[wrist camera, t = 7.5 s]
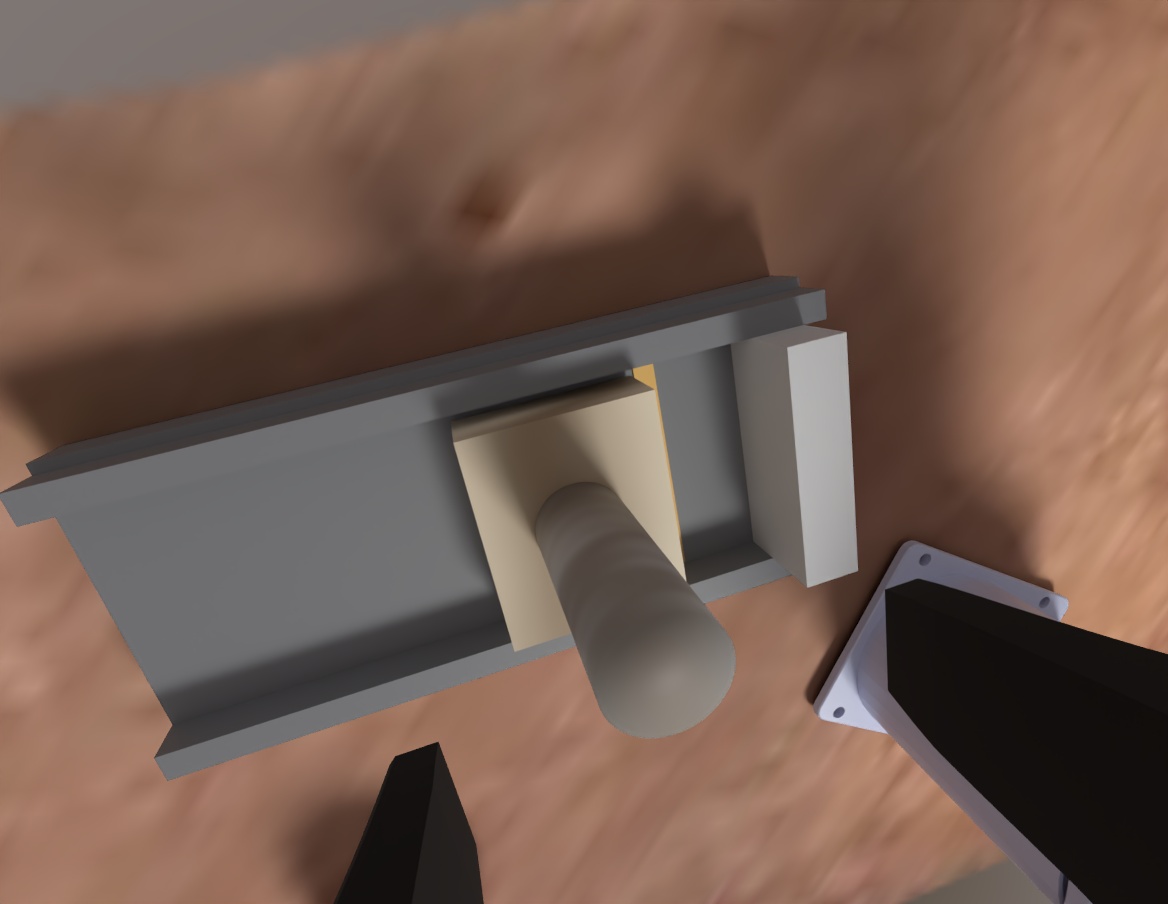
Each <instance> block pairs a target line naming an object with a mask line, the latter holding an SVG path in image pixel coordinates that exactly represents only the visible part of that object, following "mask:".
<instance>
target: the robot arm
mask: <svg viewBox="0 0 1168 904" xmlns="http://www.w3.org/2000/svg"><path fill="white" fill-rule="evenodd" d="M922 555H923V556H922ZM921 557H922V558H921ZM920 558H921V559H920ZM1068 605H1069V602H1068V599H1067V598H1065V597H1064V596H1062V595H1060V594H1058V593H1055V592H1052V591H1050V590H1047V589H1044V588H1042V587H1039V586H1036V585H1034V584H1031V583H1028V582H1025V581H1023V580H1020V579H1017V578H1015V577H1012V576H1009V575H1006V574H1004V573H1001V572H998V571H996V570H993V569H990V568H988V567H985V566H982V565H979V564H977V563H974V562H971V561H969V560H966V559H963V558H960V557H958V556H955V555H952V554H950V553H947V552H944V551H942V550H939V549H936V548H933V547H931V546H928V545H925V544H923V543H920V542H917V541H912V540H911V541H908V542H906V543H904V544H903V545H902V546H901V547H900V549H899V550H898V552H897V554H896V556H895V558H894V559H893V561H892V563H891V565H890V567H889V568H888V570H887V572H886V574H885V576H884V577H883V579H882V581H881V583H880V585H879V587H878V588H877V590H876V592H875V594H874V596H873V597H872V599H871V601H870V603H869V605H868V606H867V608H866V610H865V612H864V614H863V615H862V617H861V619H860V621H859V623H858V624H857V626H856V628H855V630H854V632H853V634H852V635H851V637H850V639H849V641H848V643H847V644H846V646H845V648H844V650H843V652H842V653H841V655H840V657H839V659H838V661H837V662H836V664H835V666H834V668H833V670H832V671H831V673H830V675H829V677H828V679H827V680H826V682H825V684H824V686H823V688H822V690H821V691H820V693H819V695H818V697H817V699H816V700H815V703H814V705H813V710H814V712H815V713H816V714H817V716H818V717H819V718H820V719H822V720H826V721H831V722H835V723H840V724H845V725H849V726H854V727H858V728H863V729H868V730H872V731H877V732H881V733H886V734H889V735H890V736H891V737H892V738H893V739H894V740H895V741H896V742H897V743H898V744H899V745H900V746H901V747H902V748H903V749H904V750H905V751H906V752H907V753H908V754H909V755H910V756H911V757H912V759H913V760H914V761H915V762H916V763H917V764H918V765H919V766H920V767H921V768H922V769H923V770H924V771H925V772H926V773H927V774H928V775H929V776H930V777H931V778H932V779H933V780H934V781H935V782H936V783H937V784H938V785H939V786H940V787H941V788H942V789H943V791H944V792H945V793H946V794H947V795H948V796H949V797H950V798H951V799H952V800H953V801H954V802H955V803H956V804H957V805H958V806H959V807H960V808H961V809H962V810H963V811H964V812H965V813H966V814H967V815H968V816H969V817H970V818H971V819H972V820H973V821H974V822H975V824H976V825H977V826H978V827H979V828H980V829H981V830H982V831H983V832H984V833H985V834H986V835H987V836H988V837H989V838H990V839H991V840H992V841H993V842H994V843H995V844H996V845H997V846H998V847H999V848H1000V849H1001V850H1002V851H1003V852H1004V853H1005V854H1006V856H1007V857H1008V858H1009V859H1010V860H1011V861H1012V862H1013V863H1014V864H1015V865H1016V866H1017V867H1018V868H1019V869H1020V870H1021V871H1022V872H1023V873H1024V874H1025V875H1026V876H1027V877H1028V878H1029V879H1030V880H1031V881H1032V882H1033V883H1034V884H1035V885H1036V886H1037V887H1038V888H1039V890H1040V891H1041V892H1042V893H1043V894H1044V895H1045V896H1046V897H1047V898H1048V899H1049V900H1050V901H1051V902H1052V903H1053V904H1168V654H1165V653H1162V652H1158V651H1154V650H1151V649H1147V648H1144V647H1140V646H1137V645H1133V644H1130V643H1127V642H1123V641H1120V640H1117V639H1113V638H1110V637H1106V636H1103V635H1100V634H1097V633H1093V632H1090V631H1087V630H1084V629H1080V628H1077V627H1074V626H1071V625H1068V624H1065V623H1061V622H1060V620H1061V619H1062V617H1063V615H1064V614H1065V612H1066V611H1067V608H1068ZM334 904H484V903H483V895H482V886H481V879H480V871H479V864H478V856H477V848H476V843H475V840H474V837H473V834H472V832H471V829H470V826H469V824H468V821H467V818H466V815H465V813H464V810H463V807H462V805H461V802H460V799H459V796H458V794H457V791H456V788H455V786H454V783H453V780H452V777H451V775H450V772H449V769H448V767H447V764H446V761H445V758H444V756H443V753H442V750H441V748H440V745H439V742H436V743H433V744H430V745H427V746H424V747H421V748H418V749H416V750H413V751H410V752H407V753H404V754H401V755H398V756H395V758H394V759H393V761H392V762H391V764H390V765H389V768H388V771H387V774H386V776H385V779H384V782H383V784H382V787H381V790H380V792H379V795H378V798H377V800H376V803H375V805H374V808H373V811H372V813H371V816H370V818H369V821H368V823H367V826H366V828H365V831H364V833H363V836H362V838H361V841H360V843H359V846H358V848H357V850H356V853H355V855H354V858H353V860H352V863H351V865H350V867H349V869H348V872H347V874H346V876H345V879H344V881H343V883H342V886H341V888H340V890H339V892H338V895H337V897H336V899H335V902H334Z"/></svg>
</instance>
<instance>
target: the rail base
mask: <svg viewBox="0 0 1168 904" xmlns="http://www.w3.org/2000/svg"><path fill="white" fill-rule="evenodd" d="M825 319H827V315H826V298H825V289H814V288H799V277H790V276H768V277H764V278H760V279H755V280H751V281H747V282H743V283H739V284H735V285H730V286H726V287H722V288H718V289H714V290H710V291H705V292H701V293H697V294H693V295H689V296H685V297H680V298H676V299H672V300H668V301H664V302H660V303H655V304H651V305H647V306H643V307H639V308H635V309H630V310H626V311H622V312H618V313H614V314H610V315H605V316H601V317H597V318H593V319H589V320H585V321H580V322H576V323H572V324H568V325H564V326H559V327H555V328H551V329H547V330H543V331H539V332H534V333H530V334H526V335H522V336H518V337H514V338H509V339H505V340H501V341H497V342H493V343H489V344H484V345H480V346H476V347H472V348H468V349H464V350H459V351H455V352H451V353H447V354H443V355H439V356H434V357H430V358H426V359H422V360H418V361H414V362H409V363H405V364H401V365H397V366H393V367H389V368H384V369H380V370H376V371H372V372H368V373H364V374H359V375H355V376H351V377H347V378H343V379H339V380H334V381H330V382H326V383H322V384H318V385H314V386H309V387H305V388H301V389H297V390H293V391H289V392H284V393H280V394H276V395H272V396H268V397H264V398H259V399H255V400H251V401H247V402H243V403H239V404H234V405H230V406H226V407H222V408H218V409H214V410H209V411H205V412H201V413H197V414H193V415H189V416H184V417H180V418H176V419H172V420H168V421H164V422H159V423H155V424H151V425H147V426H143V427H138V428H134V429H130V430H126V431H122V432H118V433H113V434H109V435H105V436H101V437H97V438H93V439H88V440H84V441H80V442H76V443H72V444H68V445H63V446H61V447H59V448H57V449H55V450H53V451H51V452H49V453H47V454H45V455H43V456H41V457H39V458H37V459H35V460H33V461H31V462H29V463H27V464H26V466H27V468H28V469H29V471H30V473H31V475H32V476H31V477H29V478H27V479H25V480H23V481H21V482H20V483H18V484H16V485H14V486H12V487H10V488H8V489H6V490H5V491H3V492H1V493H0V499H1V501H2V503H3V504H4V506H5V508H6V509H7V511H8V513H9V514H10V516H11V518H12V519H13V521H14V523H15V525H16V526H17V527H19V526H22V525H26V524H30V523H34V522H38V521H42V520H46V519H50V518H54V517H56V519H57V521H58V523H59V524H60V526H61V528H62V530H63V531H64V533H65V535H66V537H67V538H68V540H69V542H70V544H71V546H72V547H73V549H74V551H75V553H76V554H77V556H78V558H79V560H80V561H81V563H82V565H83V567H84V569H85V570H86V572H87V574H88V576H89V577H90V579H91V581H92V583H93V585H94V586H95V588H96V590H97V592H98V593H99V595H100V597H101V599H102V600H103V602H104V604H105V606H106V608H107V609H108V611H109V613H110V615H111V616H112V618H113V620H114V622H115V623H116V625H117V627H118V629H119V631H120V632H121V634H122V636H123V638H124V639H125V641H126V643H127V645H128V647H129V648H130V650H131V652H132V654H133V655H134V657H135V659H136V661H137V662H138V664H139V666H140V668H141V670H142V671H143V673H144V675H145V677H146V678H147V680H148V682H149V684H150V685H151V687H152V689H153V691H154V693H155V694H156V696H157V698H158V700H159V701H160V703H161V705H162V707H163V708H164V710H165V712H166V714H167V716H168V717H169V719H170V721H171V723H172V724H173V725H172V727H171V729H170V731H169V732H168V734H167V736H166V738H165V739H164V741H163V743H162V745H161V747H160V748H159V750H158V752H157V754H156V756H155V757H154V759H155V761H156V762H157V764H158V766H159V767H160V769H161V771H162V772H163V774H164V776H165V777H166V779H167V781H169V780H172V779H175V778H178V777H181V776H184V775H187V774H190V773H193V772H196V771H199V770H202V769H205V768H208V767H211V766H214V765H217V764H220V763H223V762H226V761H229V760H232V759H235V758H238V757H241V756H244V755H247V754H250V753H253V752H256V751H259V750H263V749H266V748H269V747H272V746H275V745H278V744H281V743H284V742H287V741H290V740H293V739H296V738H299V737H302V736H305V735H308V734H311V733H314V732H317V731H320V730H323V729H326V728H329V727H332V726H335V725H338V724H341V723H344V722H347V721H350V720H354V719H357V718H360V717H363V716H366V715H369V714H372V713H375V712H378V711H381V710H384V709H387V708H390V707H393V706H396V705H399V704H402V703H405V702H408V701H411V700H414V699H417V698H420V697H423V696H426V695H429V694H432V693H435V692H438V691H441V690H444V689H448V688H451V687H454V686H457V685H460V684H463V683H466V682H469V681H472V680H475V679H478V678H481V677H484V676H487V675H490V674H493V673H496V672H499V671H502V670H505V669H508V668H511V667H514V666H517V665H520V664H523V663H526V662H529V661H532V660H535V659H539V658H542V657H545V656H548V655H551V654H554V653H557V652H560V651H563V650H566V649H569V648H572V647H575V646H576V643H575V641H574V638H573V636H572V633H571V634H568V635H565V636H562V637H559V638H556V639H553V640H550V641H547V642H544V643H540V644H537V645H534V646H531V647H528V648H525V649H522V650H519V651H516V652H515V651H514V648H513V645H512V641H511V638H510V634H509V631H508V628H507V624H506V621H505V617H504V614H503V611H502V607H501V604H500V600H499V597H498V594H497V590H496V587H495V583H494V580H493V577H492V573H491V570H490V566H489V563H488V560H487V556H486V553H485V549H484V546H483V542H482V539H481V536H480V532H479V529H478V525H477V522H476V519H475V515H474V512H473V508H472V505H471V502H470V498H469V495H468V491H467V488H466V485H465V481H464V478H463V474H462V471H461V468H460V464H459V461H458V457H457V454H456V451H455V447H454V444H453V437H452V428H451V421H455V420H459V419H463V418H467V417H471V416H474V415H478V414H482V413H486V412H490V411H494V410H498V409H502V408H505V407H509V406H513V405H517V404H521V403H525V402H529V401H533V400H536V399H540V398H544V397H548V396H552V395H556V394H560V393H563V392H567V391H571V390H575V389H579V388H583V387H587V386H591V385H594V384H598V383H602V382H606V381H610V380H614V379H618V378H622V377H625V376H629V375H630V376H632V377H634V378H635V379H637V380H639V381H641V382H642V383H644V384H646V385H648V386H649V387H651V388H653V389H655V393H656V399H657V405H658V411H659V417H660V423H661V430H662V436H663V442H664V448H665V454H666V460H667V466H668V472H669V478H670V484H671V490H672V496H673V503H674V509H675V515H676V521H677V527H678V533H679V539H680V545H681V551H682V557H683V563H684V569H685V575H686V582H687V583H688V584H689V586H690V587H691V588H692V589H693V591H694V592H695V593H696V594H697V596H698V597H699V598H700V599H701V601H702V602H703V603H704V604H705V603H708V602H711V601H714V600H717V599H720V598H724V597H727V596H730V595H733V594H736V593H739V592H742V591H745V590H748V589H751V588H754V587H757V586H760V585H763V584H766V583H769V582H772V581H775V580H778V579H781V578H784V577H787V576H790V575H793V576H794V577H795V578H796V579H798V580H799V581H800V582H801V583H802V584H803V585H804V586H806V587H807V588H809V587H812V586H815V585H818V584H821V583H824V582H826V581H829V580H832V579H835V578H838V577H841V576H844V575H847V574H850V573H853V572H856V571H858V559H857V538H856V517H855V497H854V476H853V456H852V435H851V415H850V394H849V373H848V353H847V332H843V331H837V330H831V329H825V328H819V327H813V326H807V325H805V324H809V323H813V322H817V321H821V320H825Z"/></svg>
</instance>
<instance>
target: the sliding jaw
mask: <svg viewBox="0 0 1168 904" xmlns="http://www.w3.org/2000/svg"><path fill="white" fill-rule="evenodd" d="M451 428H452V437H453V444H454V447H455V451H456V454H457V457H458V461H459V464H460V468H461V471H462V474H463V478H464V481H465V485H466V488H467V491H468V495H469V498H470V502H471V505H472V508H473V512H474V515H475V519H476V522H477V525H478V529H479V532H480V536H481V539H482V542H483V546H484V549H485V553H486V556H487V560H488V563H489V566H490V570H491V573H492V577H493V580H494V583H495V587H496V590H497V594H498V597H499V600H500V604H501V607H502V611H503V614H504V617H505V621H506V624H507V628H508V631H509V634H510V638H511V641H512V645H513V648H514V651H515V652H516V651H519V650H522V649H525V648H528V647H531V646H534V645H537V644H540V643H544V642H547V641H550V640H553V639H556V638H559V637H562V636H565V635H568V634H571V633H572V636H573V638H574V641H575V643H576V646H577V649H578V651H579V654H580V657H581V659H582V662H583V665H584V667H585V670H586V673H587V675H588V678H589V681H590V683H591V686H592V689H593V691H594V694H595V697H596V699H597V702H598V704H599V707H600V709H601V711H602V713H603V715H604V717H605V718H606V719H607V720H608V722H609V723H610V724H612V725H613V726H614V727H615V728H617V729H618V730H620V731H621V732H623V733H626V734H628V735H631V736H635V737H640V738H662V737H667V736H671V735H674V734H678V733H680V732H683V731H685V730H687V729H689V728H691V727H693V726H695V725H696V724H698V723H699V722H701V721H702V720H703V719H705V718H706V717H707V716H708V715H709V714H711V713H712V712H713V710H714V709H715V708H716V707H717V706H718V705H719V704H720V702H721V701H722V700H723V698H724V697H725V695H726V694H727V692H728V690H729V688H730V686H731V683H732V680H733V677H734V673H735V666H736V656H735V650H734V646H733V643H732V640H731V638H730V637H729V635H728V633H727V632H726V631H725V629H724V628H723V627H722V626H721V624H720V623H719V622H718V621H717V619H716V618H715V617H714V616H713V614H712V613H711V612H710V611H709V609H708V608H707V607H706V606H705V604H704V603H703V602H702V601H701V599H700V598H699V597H698V596H697V594H696V593H695V592H694V591H693V589H692V588H691V587H690V586H689V584H688V583H687V582H686V575H685V569H684V563H683V557H682V551H681V545H680V539H679V533H678V527H677V521H676V515H675V509H674V503H673V496H672V490H671V484H670V478H669V472H668V466H667V460H666V454H665V448H664V442H663V436H662V430H661V423H660V417H659V411H658V405H657V399H656V393H655V389H653V388H651V387H649V386H648V385H646V384H644V383H642V382H641V381H639V380H637V379H635V378H634V377H632V376H630V375H629V376H625V377H622V378H618V379H614V380H610V381H606V382H602V383H598V384H594V385H591V386H587V387H583V388H579V389H575V390H571V391H567V392H563V393H560V394H556V395H552V396H548V397H544V398H540V399H536V400H533V401H529V402H525V403H521V404H517V405H513V406H509V407H505V408H502V409H498V410H494V411H490V412H486V413H482V414H478V415H474V416H471V417H467V418H463V419H459V420H455V421H451Z"/></svg>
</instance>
